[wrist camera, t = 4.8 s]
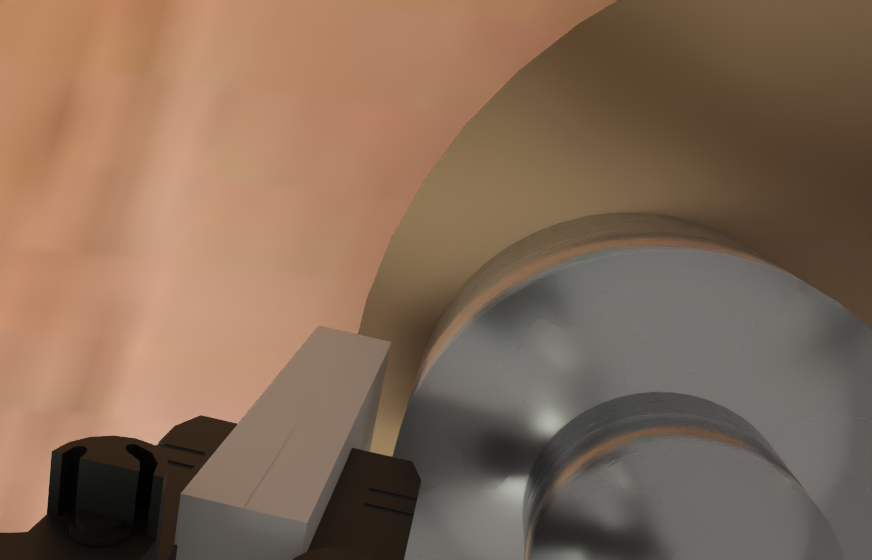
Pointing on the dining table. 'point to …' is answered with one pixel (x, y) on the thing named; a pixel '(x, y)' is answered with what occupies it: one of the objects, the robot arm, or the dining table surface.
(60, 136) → the dining table surface
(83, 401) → the dining table surface
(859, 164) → the turntable
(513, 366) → the cover
